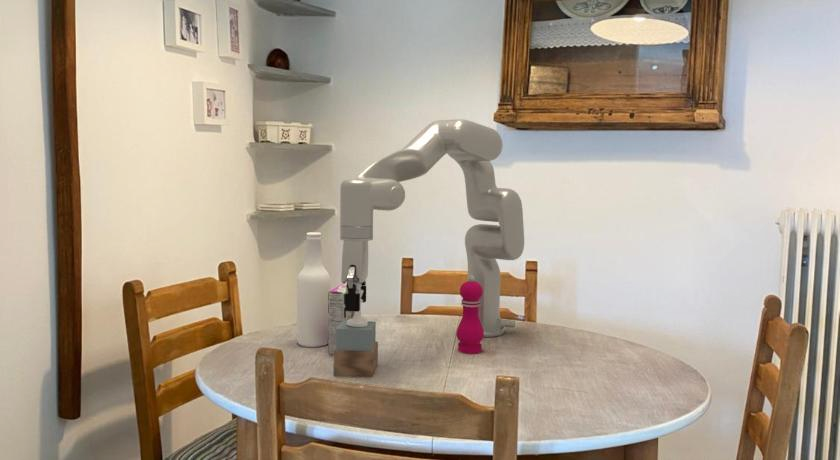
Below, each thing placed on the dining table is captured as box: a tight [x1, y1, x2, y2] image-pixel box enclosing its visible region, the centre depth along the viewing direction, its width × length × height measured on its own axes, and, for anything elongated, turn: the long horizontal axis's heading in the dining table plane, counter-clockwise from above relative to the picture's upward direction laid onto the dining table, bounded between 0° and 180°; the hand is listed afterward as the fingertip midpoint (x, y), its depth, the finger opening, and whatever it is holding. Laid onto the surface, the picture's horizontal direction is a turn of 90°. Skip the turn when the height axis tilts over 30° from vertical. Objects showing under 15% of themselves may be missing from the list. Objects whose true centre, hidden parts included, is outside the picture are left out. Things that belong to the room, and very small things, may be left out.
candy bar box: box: [328, 283, 355, 356], centre depth 168 cm, size 11×5×16 cm, turn 168°
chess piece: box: [347, 284, 368, 327], centre depth 150 cm, size 5×5×10 cm
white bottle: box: [296, 231, 331, 348], centre depth 173 cm, size 9×9×30 cm
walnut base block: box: [333, 341, 379, 378], centre depth 151 cm, size 9×9×6 cm
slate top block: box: [336, 320, 377, 351], centre depth 151 cm, size 8×8×5 cm
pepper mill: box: [456, 275, 485, 355], centre depth 169 cm, size 7×7×20 cm
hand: (356, 306), depth 150 cm, fingers open, 9 cm apart
